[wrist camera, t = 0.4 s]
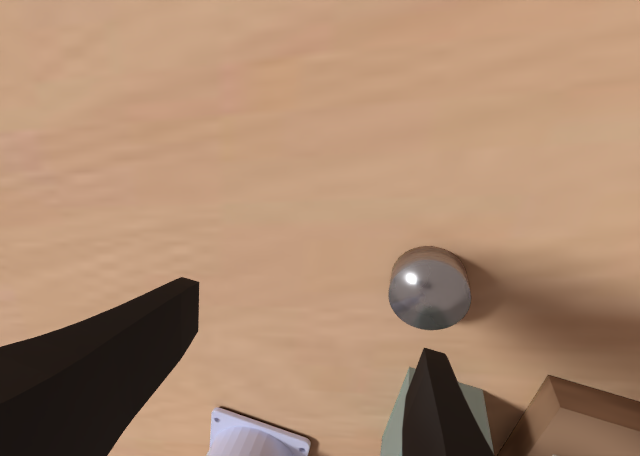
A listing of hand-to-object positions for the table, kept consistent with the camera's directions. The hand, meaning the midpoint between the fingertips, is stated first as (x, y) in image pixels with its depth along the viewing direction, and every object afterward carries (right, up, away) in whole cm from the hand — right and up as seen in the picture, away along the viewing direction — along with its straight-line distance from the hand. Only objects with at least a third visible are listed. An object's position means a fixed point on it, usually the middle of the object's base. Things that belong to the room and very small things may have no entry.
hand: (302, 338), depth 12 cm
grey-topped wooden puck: (+7, +1, +9) cm, 11 cm away
